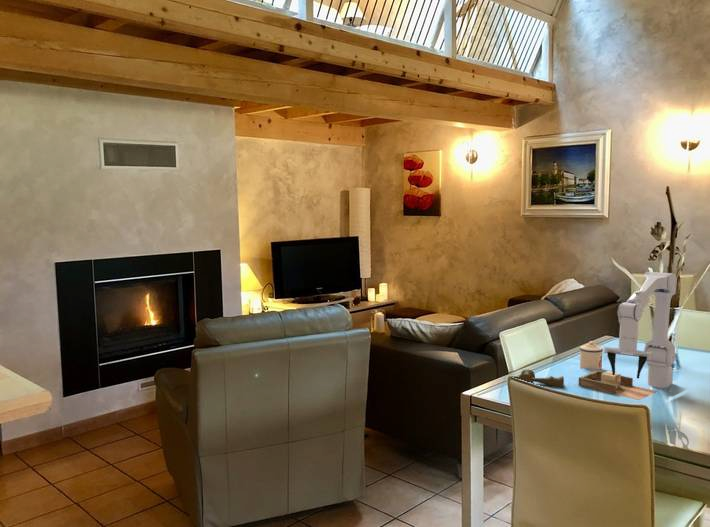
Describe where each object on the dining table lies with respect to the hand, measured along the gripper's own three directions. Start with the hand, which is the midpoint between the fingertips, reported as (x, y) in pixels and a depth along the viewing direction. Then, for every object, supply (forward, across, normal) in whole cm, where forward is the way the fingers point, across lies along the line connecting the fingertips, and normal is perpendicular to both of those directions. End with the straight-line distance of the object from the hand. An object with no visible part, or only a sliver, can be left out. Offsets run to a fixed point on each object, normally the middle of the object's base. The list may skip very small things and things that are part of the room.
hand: (625, 376), depth 204 cm
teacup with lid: (+7, -15, +45) cm, 48 cm away
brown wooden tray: (+9, -3, +16) cm, 18 cm away
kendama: (+11, -31, +10) cm, 34 cm away
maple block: (+8, -6, +17) cm, 19 cm away
